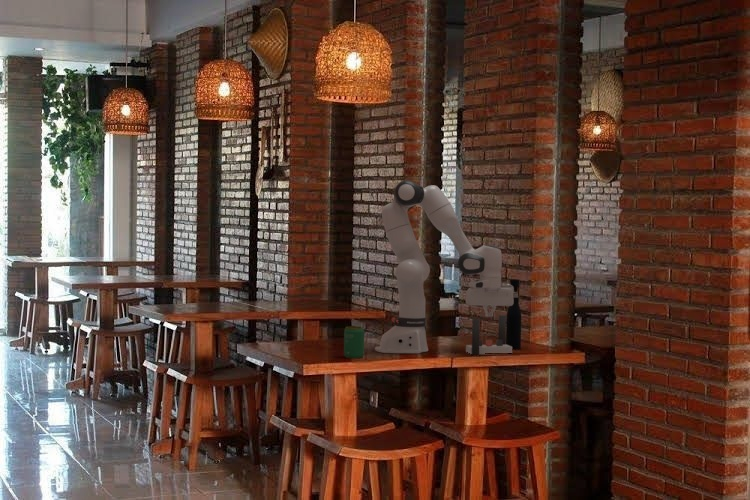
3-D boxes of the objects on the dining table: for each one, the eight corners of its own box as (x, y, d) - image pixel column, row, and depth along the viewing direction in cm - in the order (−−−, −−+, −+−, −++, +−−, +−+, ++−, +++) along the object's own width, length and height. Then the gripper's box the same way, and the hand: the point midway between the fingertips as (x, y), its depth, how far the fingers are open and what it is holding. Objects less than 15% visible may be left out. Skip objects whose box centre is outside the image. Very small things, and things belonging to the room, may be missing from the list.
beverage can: (367, 357, 425) (368, 327, 424) (351, 359, 420) (351, 328, 420) (356, 355, 431) (356, 325, 431) (340, 356, 427) (340, 326, 426)
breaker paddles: (476, 346, 442) (476, 340, 442) (475, 345, 443) (475, 339, 443) (502, 345, 445) (502, 340, 444) (501, 345, 446) (501, 339, 446)
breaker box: (470, 354, 439) (471, 347, 439) (465, 352, 446) (466, 345, 445) (512, 353, 443) (512, 346, 442) (506, 351, 449) (506, 344, 449)
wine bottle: (520, 350, 455) (521, 280, 454) (505, 349, 456) (506, 279, 455) (521, 348, 461) (522, 279, 460) (506, 347, 463) (507, 279, 461)
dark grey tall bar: (473, 356, 434) (473, 319, 434) (470, 355, 437) (471, 318, 436) (480, 356, 435) (480, 319, 434) (477, 354, 438) (478, 318, 437)
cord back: (499, 351, 451) (500, 315, 450) (497, 350, 454) (497, 315, 453) (506, 350, 451) (506, 315, 451) (503, 350, 454) (504, 315, 454)
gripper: (511, 283, 448) (510, 315, 449) (465, 282, 444) (463, 315, 444) (516, 284, 442) (515, 317, 443) (469, 283, 438) (468, 317, 438)
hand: (489, 316), depth 443 cm, fingers closed
